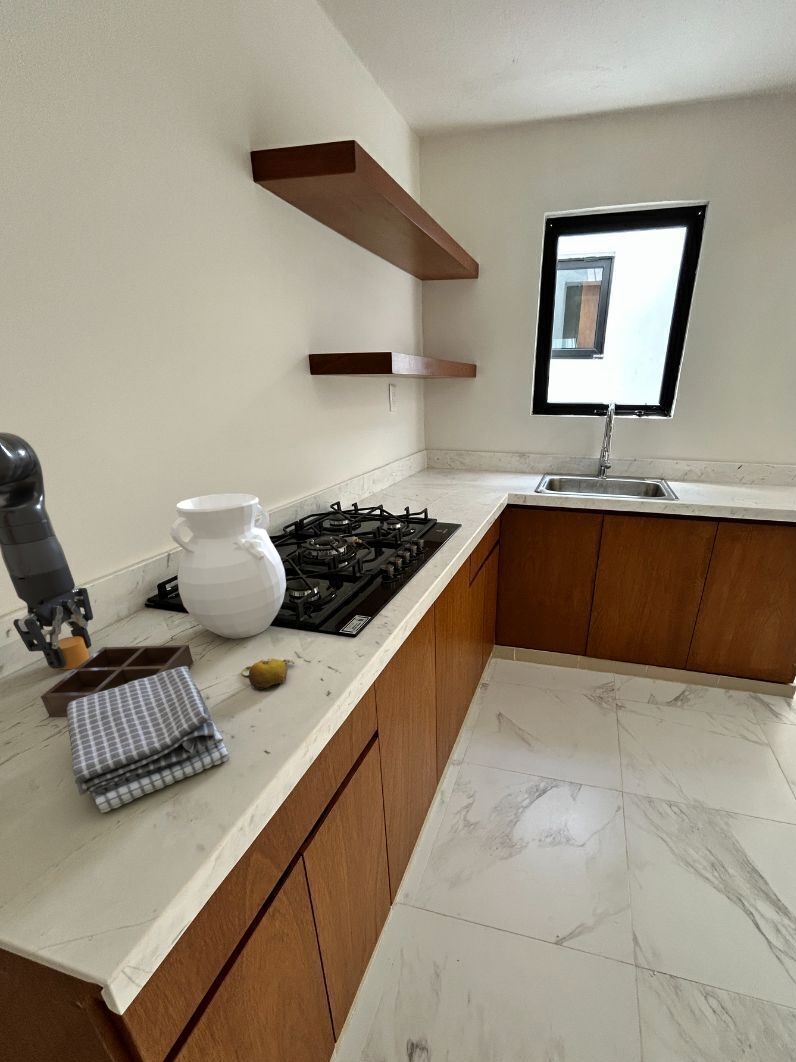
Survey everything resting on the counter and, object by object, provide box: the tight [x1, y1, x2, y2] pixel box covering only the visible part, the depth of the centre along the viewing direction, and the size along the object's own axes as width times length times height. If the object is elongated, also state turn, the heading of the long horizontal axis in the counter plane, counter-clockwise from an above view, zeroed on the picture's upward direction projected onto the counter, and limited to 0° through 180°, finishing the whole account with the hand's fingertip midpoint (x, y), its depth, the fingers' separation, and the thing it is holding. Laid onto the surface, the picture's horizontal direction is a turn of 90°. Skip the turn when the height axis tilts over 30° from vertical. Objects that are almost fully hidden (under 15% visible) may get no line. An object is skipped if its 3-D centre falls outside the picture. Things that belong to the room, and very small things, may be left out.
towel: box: [66, 666, 230, 814], centre depth 63 cm, size 15×18×8 cm
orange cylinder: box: [58, 636, 91, 671], centre depth 86 cm, size 5×5×4 cm
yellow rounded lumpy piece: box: [241, 658, 295, 691], centre depth 80 cm, size 8×8×4 cm
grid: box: [40, 644, 194, 718], centre depth 78 cm, size 14×14×4 cm
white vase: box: [170, 492, 287, 640], centre depth 93 cm, size 19×18×25 cm
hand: (72, 657), depth 86 cm, fingers open, 6 cm apart
